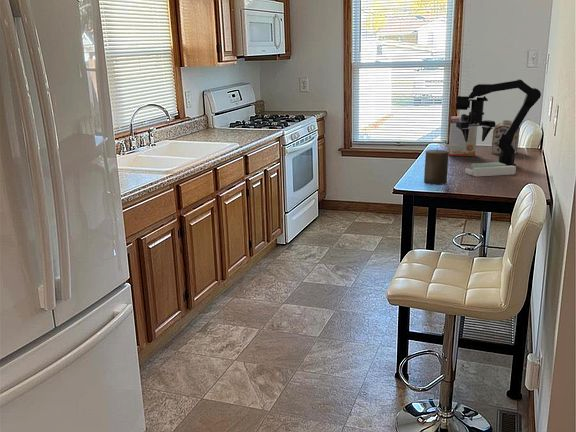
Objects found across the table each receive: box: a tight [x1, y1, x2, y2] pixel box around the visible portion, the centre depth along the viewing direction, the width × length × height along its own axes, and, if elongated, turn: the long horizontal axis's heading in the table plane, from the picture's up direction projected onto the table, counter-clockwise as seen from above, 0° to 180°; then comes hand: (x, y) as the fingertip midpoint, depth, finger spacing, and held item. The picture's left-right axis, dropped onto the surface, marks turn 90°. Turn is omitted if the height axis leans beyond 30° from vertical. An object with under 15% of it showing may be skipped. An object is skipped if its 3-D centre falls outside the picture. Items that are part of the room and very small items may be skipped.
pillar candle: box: [423, 147, 449, 186], centre depth 246 cm, size 10×10×15 cm
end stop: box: [464, 165, 517, 178], centre depth 264 cm, size 21×9×4 cm, turn 102°
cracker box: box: [448, 115, 478, 157], centre depth 307 cm, size 14×6×21 cm, turn 72°
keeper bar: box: [470, 161, 506, 170], centre depth 265 cm, size 14×6×4 cm, turn 102°
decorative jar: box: [490, 119, 521, 155], centre depth 313 cm, size 12×12×18 cm
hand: (474, 141), depth 285 cm, fingers open, 9 cm apart
